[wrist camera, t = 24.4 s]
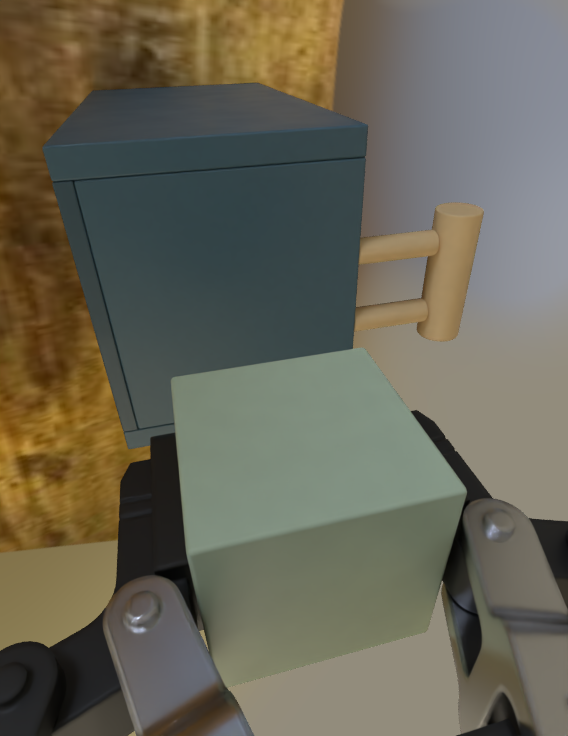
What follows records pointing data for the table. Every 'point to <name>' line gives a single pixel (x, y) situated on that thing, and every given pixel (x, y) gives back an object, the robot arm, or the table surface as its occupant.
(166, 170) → the shelf
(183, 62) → the table surface
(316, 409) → the block
